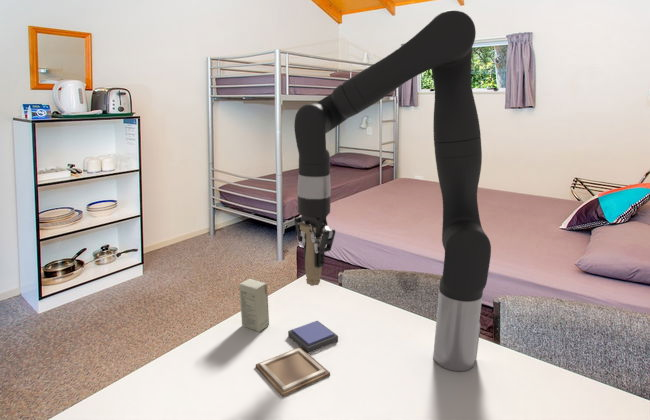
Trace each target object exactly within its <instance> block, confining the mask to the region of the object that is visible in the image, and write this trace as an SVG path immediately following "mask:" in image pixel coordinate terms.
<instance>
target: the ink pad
mask: <svg viewBox="0 0 650 420" xmlns="http://www.w3.org/2000/svg"><path fill="white" fill-rule="evenodd" d="M287 335H288V337H289V338H290V339H291V340H292V341H293V342H295V344H297V346H299V347H301V348H302V349H304V350H305V351H306V352H307V353H308V354H310V353H313V352H315V351H317V350H320V349H322V348H325V347H327V346H329V345H333V344H334V343H336V342H339V335H338V334H336V333H335V332H334V331H332V330H331V329H330V328H328V327H327V326H325V325H324V324H323V323H322V322H320V321H319V320H315V321H312V322H309V323H306V324H303V325H301V326H299V327H296V328H293V329H290V330H288V333H287Z"/></svg>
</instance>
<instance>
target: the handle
mask: <svg viewBox="0 0 650 420" xmlns="http://www.w3.org/2000/svg"><path fill="white" fill-rule="evenodd" d="M302 223H303V222H301V223H300V230H301V232H302V231H303V232H305V233H306V256H305V261H304V269H305V277H306V279H305V280H306V284H307V285H310V286H313V287H314V286H318V285H319V284H320V283H321V276H322V269H323V268H322V267H323V266H322V267H319V268H317V267H315V248H314V243H312V240H311V234H312V232H311V231H310V229H311V227H309V225H304V224H302ZM313 230H314V232H315V234H316V227H313ZM322 232H323V229H322ZM320 238H321V237H317V238H316V239H320ZM320 244H321V242H319V243H318V245H319V247H320Z"/></svg>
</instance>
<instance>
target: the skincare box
mask: <svg viewBox="0 0 650 420" xmlns="http://www.w3.org/2000/svg"><path fill="white" fill-rule="evenodd" d="M238 287H239V298H240V299H239V300H240V313H241V315H240V316H241V325H242V327H245V328H247V329H250V330H252V331H256V332H259V333H260V332H261V331H262V330H264V329H266V328H267V327H268V326H269V325H270V315H269V312H270V311H269V295H268V283H267V282H264V281H262V280H257V279H255V278H248V279H246V280H244V281H242V282H240V283H238Z"/></svg>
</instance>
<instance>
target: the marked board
mask: <svg viewBox="0 0 650 420" xmlns="http://www.w3.org/2000/svg"><path fill="white" fill-rule="evenodd" d="M255 368H256V369H257V370H258V371H259V372H260V373H261V374H262V376H263V377H264V378H265V379H266V380H267V381H268V382H269V383H270V384H271V386H272V387H273V388H274V389H275V390H276V391H277V392H278V393H279V395H280V396H282V397H285V396H287V395H290V394H292V393H295V392H296V391H298V390H301V389H303V388H305V387H307V386H309V385H312V384H314V383H316V382H318V381H320V380H322V379H325V378H327V377H329V376H331V372H330V371H328V369H327V368H325V367H324V366H323V365H322V364H321V363H320V362H318V361H317V360H316V359H315V357H313V356H312V355H311V354H310V353H307V352H306V351H305V350H304V349H302V348H301V347H300V346H299V347H297V348H295V349H292V350H289V351H286V352H284V353H281V354H279V355H276V356H273V357H271V358H268V359H266V360H263V361H261V362H258V363H256V364H255Z"/></svg>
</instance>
